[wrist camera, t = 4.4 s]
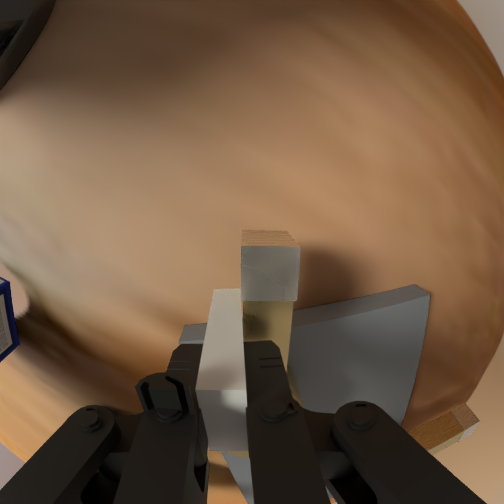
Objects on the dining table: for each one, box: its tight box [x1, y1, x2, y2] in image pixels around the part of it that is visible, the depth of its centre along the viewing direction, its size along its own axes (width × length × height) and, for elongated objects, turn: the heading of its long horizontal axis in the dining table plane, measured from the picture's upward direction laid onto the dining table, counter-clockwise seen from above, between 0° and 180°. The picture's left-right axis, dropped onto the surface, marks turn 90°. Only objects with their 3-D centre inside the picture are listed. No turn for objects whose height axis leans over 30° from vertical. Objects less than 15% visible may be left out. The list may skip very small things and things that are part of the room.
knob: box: [225, 230, 303, 458], centre depth 13 cm, size 12×5×4 cm, turn 179°
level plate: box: [179, 284, 430, 504], centre depth 19 cm, size 28×16×3 cm, turn 9°
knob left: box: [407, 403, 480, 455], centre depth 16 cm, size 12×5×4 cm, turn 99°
